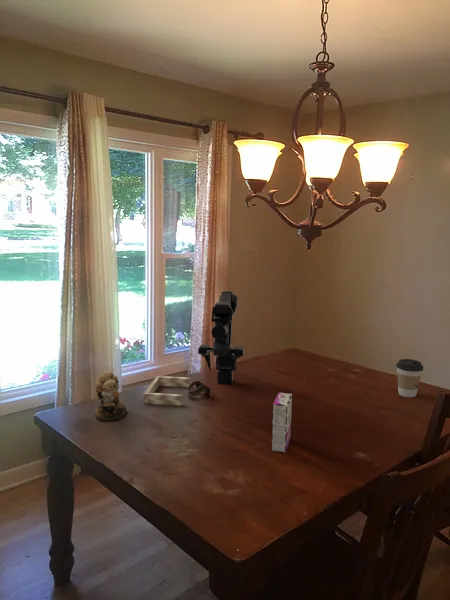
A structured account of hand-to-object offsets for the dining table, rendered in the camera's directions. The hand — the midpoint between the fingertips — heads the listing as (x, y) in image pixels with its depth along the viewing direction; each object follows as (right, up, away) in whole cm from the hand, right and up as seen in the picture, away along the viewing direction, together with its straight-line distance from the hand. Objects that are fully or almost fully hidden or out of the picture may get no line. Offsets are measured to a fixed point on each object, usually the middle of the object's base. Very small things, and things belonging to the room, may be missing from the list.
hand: (220, 370), depth 204 cm
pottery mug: (-9, -12, +3) cm, 15 cm away
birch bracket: (-23, -11, +4) cm, 25 cm away
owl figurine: (-42, -14, -18) cm, 48 cm away
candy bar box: (+21, -20, -40) cm, 49 cm away
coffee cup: (+82, -13, +11) cm, 84 cm away
